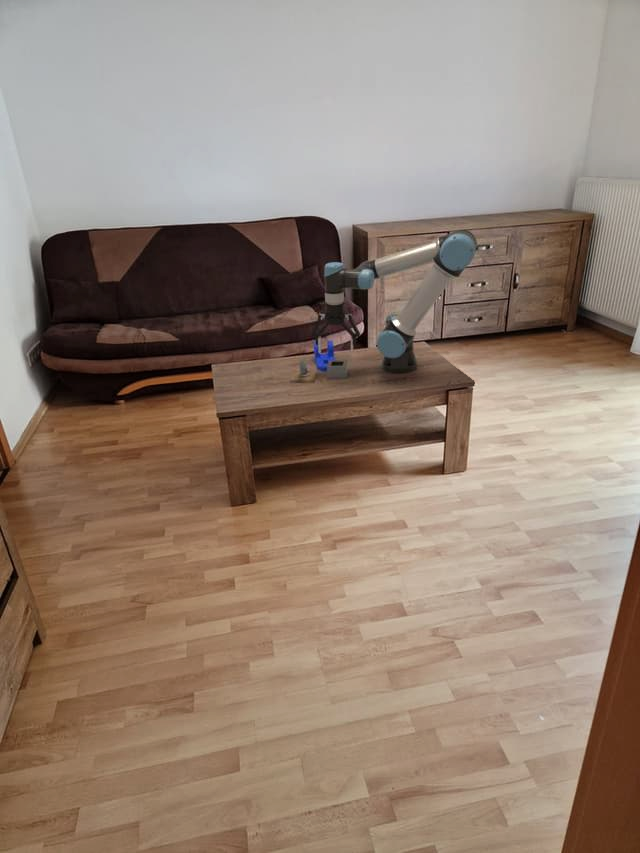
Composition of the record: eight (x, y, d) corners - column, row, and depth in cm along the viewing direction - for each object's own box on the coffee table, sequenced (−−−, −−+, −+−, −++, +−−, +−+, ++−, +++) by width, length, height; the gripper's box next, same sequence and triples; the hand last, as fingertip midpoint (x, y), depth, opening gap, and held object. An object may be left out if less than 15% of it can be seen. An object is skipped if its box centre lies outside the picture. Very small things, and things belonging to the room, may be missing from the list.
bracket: (314, 358, 262) (313, 339, 258) (332, 357, 263) (331, 338, 259) (318, 372, 246) (317, 352, 242) (337, 370, 247) (336, 351, 243)
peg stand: (317, 373, 245) (316, 355, 241) (314, 382, 236) (312, 364, 232) (294, 373, 246) (293, 355, 242) (290, 382, 237) (289, 364, 234)
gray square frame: (348, 371, 245) (347, 360, 243) (346, 378, 238) (345, 367, 236) (329, 371, 247) (329, 360, 244) (327, 378, 239) (326, 367, 237)
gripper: (366, 299, 230) (366, 349, 240) (305, 300, 233) (308, 349, 243) (364, 304, 223) (365, 355, 233) (302, 305, 227) (305, 355, 236)
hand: (336, 352), depth 238 cm, fingers open, 13 cm apart
